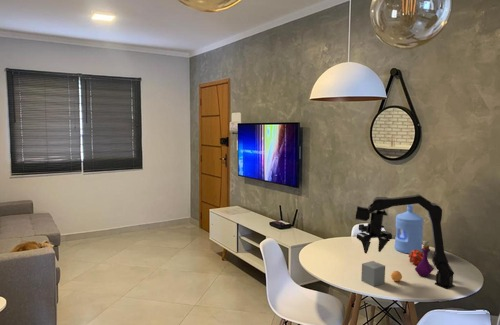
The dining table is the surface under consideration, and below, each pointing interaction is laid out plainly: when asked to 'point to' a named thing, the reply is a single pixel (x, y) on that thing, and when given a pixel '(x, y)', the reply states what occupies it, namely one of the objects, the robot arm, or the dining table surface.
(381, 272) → the matte grey cube
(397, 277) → the ball
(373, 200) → the robot arm
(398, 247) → the water jug
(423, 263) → the perfume bottle
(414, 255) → the dragon fruit
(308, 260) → the dining table surface
